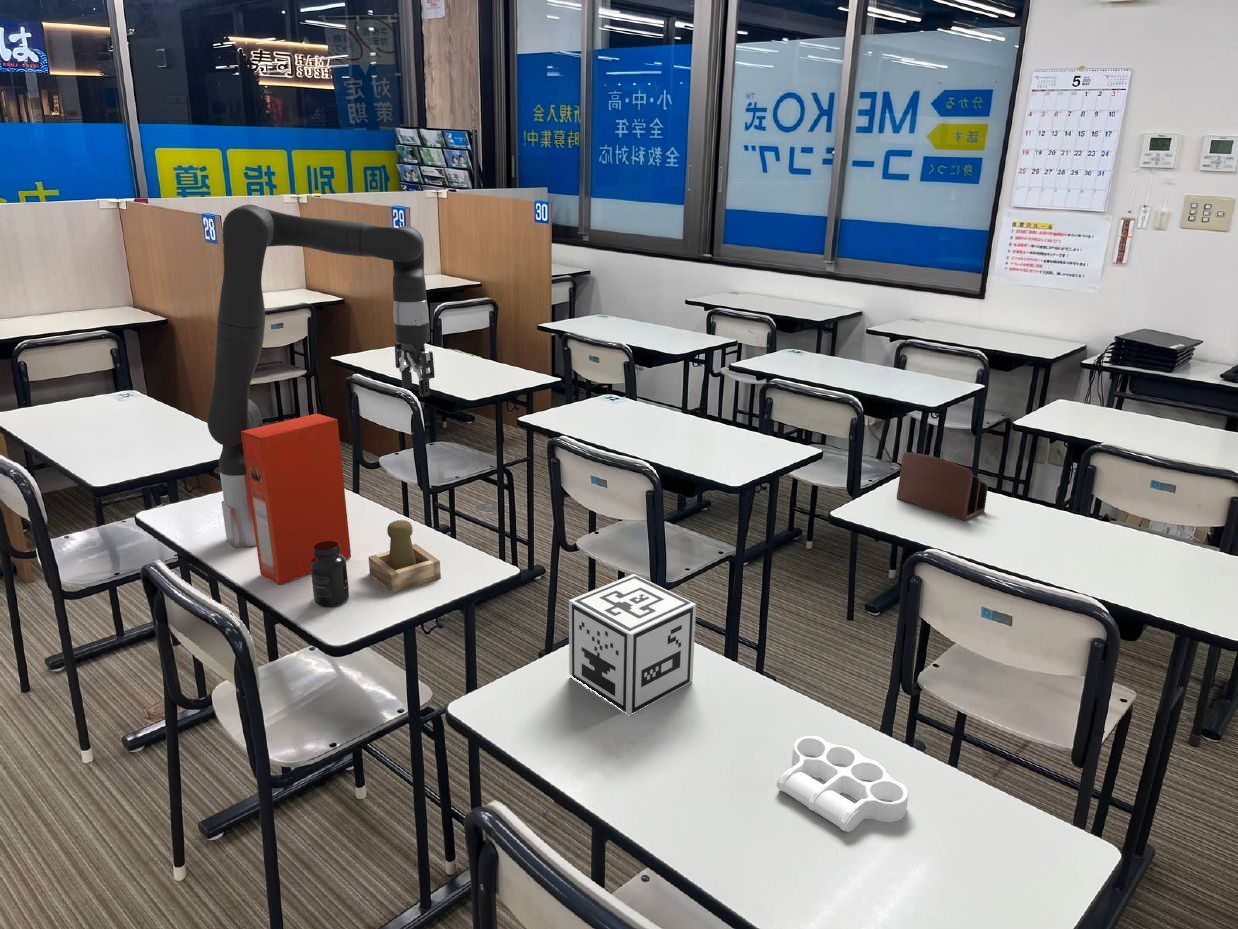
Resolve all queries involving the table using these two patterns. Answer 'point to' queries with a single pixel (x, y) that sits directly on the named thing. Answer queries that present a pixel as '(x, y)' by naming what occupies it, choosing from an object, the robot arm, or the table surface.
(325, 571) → the supplement bottle
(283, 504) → the file binder
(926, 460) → the letter holder
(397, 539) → the olive knobbed tapered cylinder
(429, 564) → the oak holder
